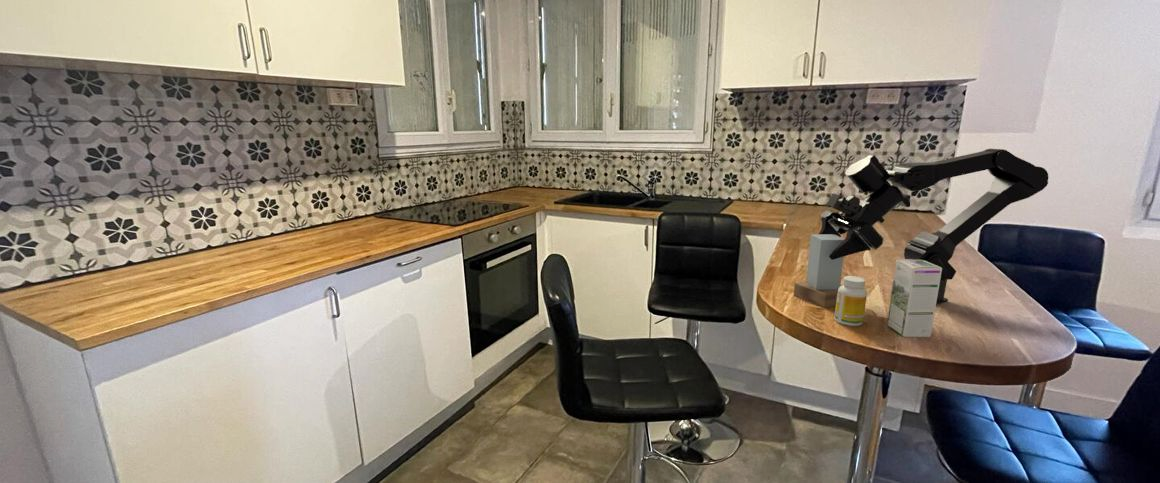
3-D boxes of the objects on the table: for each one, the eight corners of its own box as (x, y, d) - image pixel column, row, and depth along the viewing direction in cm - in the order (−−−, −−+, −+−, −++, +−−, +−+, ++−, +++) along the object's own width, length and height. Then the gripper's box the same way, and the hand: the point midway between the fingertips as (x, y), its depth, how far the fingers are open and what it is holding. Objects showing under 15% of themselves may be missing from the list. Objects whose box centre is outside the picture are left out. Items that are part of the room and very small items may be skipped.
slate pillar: (828, 282, 120) (834, 234, 117) (839, 289, 115) (845, 239, 112) (806, 282, 120) (810, 234, 117) (815, 289, 115) (821, 239, 112)
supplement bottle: (828, 318, 106) (833, 276, 103) (847, 315, 107) (852, 273, 105) (849, 328, 101) (855, 283, 98) (868, 324, 102) (875, 281, 100)
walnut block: (851, 303, 116) (853, 289, 115) (824, 309, 112) (825, 294, 111) (820, 292, 124) (821, 278, 123) (793, 296, 120) (794, 283, 119)
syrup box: (932, 337, 96) (945, 266, 93) (901, 337, 96) (913, 266, 93) (913, 325, 102) (925, 258, 98) (884, 325, 102) (895, 258, 98)
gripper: (833, 177, 120) (783, 221, 123) (876, 187, 102) (817, 238, 105) (861, 209, 122) (811, 251, 125) (908, 224, 104) (849, 273, 107)
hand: (821, 252), depth 115 cm, fingers open, 9 cm apart
